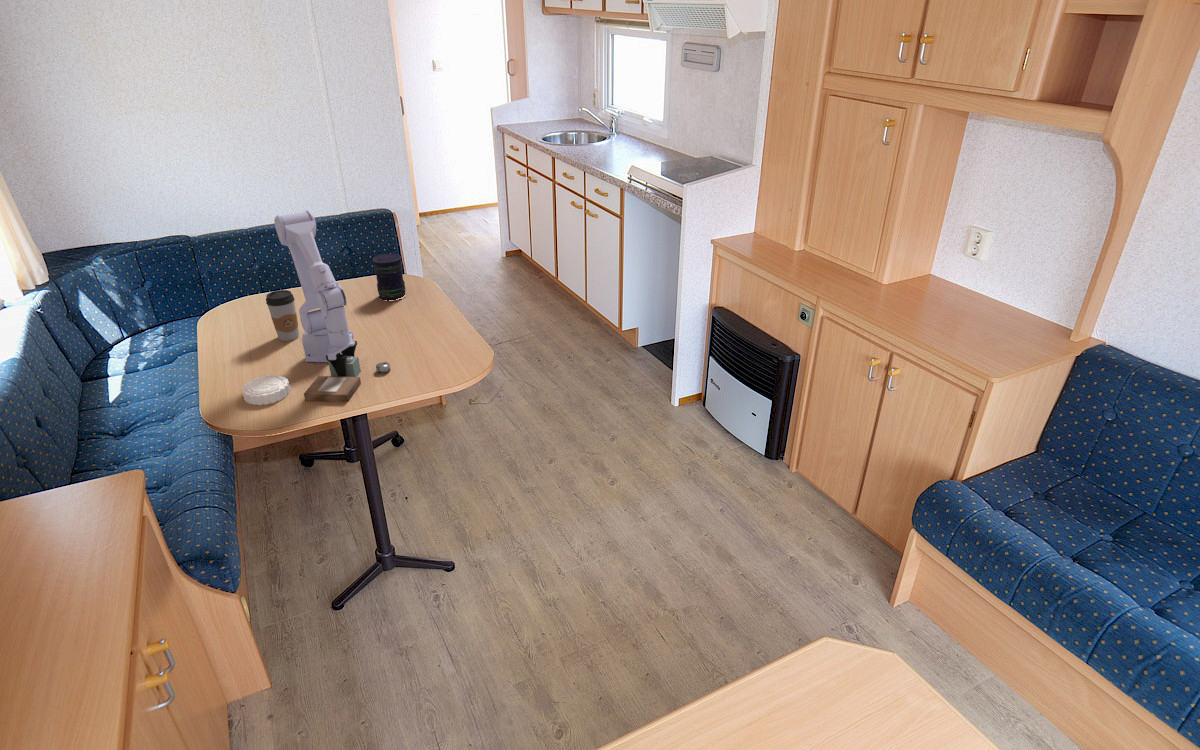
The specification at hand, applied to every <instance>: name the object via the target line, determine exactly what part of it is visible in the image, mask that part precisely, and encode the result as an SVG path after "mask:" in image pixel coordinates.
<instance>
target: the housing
mask: <svg viewBox="0 0 1200 750" xmlns="http://www.w3.org/2000/svg"><path fill="white" fill-rule="evenodd" d="M360 365H361V364H360V359H359V356H354V357H352V356H347V359H346V376H339V377H359V375H360V373H361V371H362V370H361V366H360ZM328 366H329V372H330V376H338V375H337V373H336V371H335V369H334V367H333V366H332V365H331V363H330V362H328Z"/></svg>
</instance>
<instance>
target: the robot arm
mask: <svg viewBox="0 0 1200 750" xmlns="http://www.w3.org/2000/svg"><path fill="white" fill-rule="evenodd" d="M273 222H274V228H275V230H276V234H277V237H278V240H279V242H280V244H281V246H286V247H288V249H289V252H290V255H291V258H292V261H293V264H294V268H295V270H296V273H297V277H298V280H299V282H300V286H301V289H302V292H303V296H304V298H305V302H303V304H302V305H301V306H300V307H299V309H298V313H299V318H300V320H299V321H300V324H301V326H302V329H303V333H302V338H301V339H302V340H301V342H302V347H303V352H304V356H305V360H304V361H305V362H306V363H331V365H332V366H333V367H334V369H335V371H336V373H337V375H338V376H346V359H347V356H352V357H355V354H356V353H355V352H356V348H357V345H358V341H357V340H353V339H354V338H355V337H354V331H350V329H349V324H348V319H347V314H346V309H345V306H347V304H348V303H347V297H346V294H345V291H344V289H343V288H342V286H341V285H340V284H339V282H336V279H335V277H334V274H333V273H332V271H331V268H330V266H329V265H328V264H327V263H325V262H323V260H322V257H321V254H320V251H319V249H318V246H317V243H316V240H315V237H316V234H317V221H316V219H315V216H314V214H313V213H312V212H311V211H310V210H305V211H301V212H294V213H289V214H283V215H276V216H275V218H274V221H273Z"/></svg>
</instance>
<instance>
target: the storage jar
mask: <svg viewBox="0 0 1200 750" xmlns="http://www.w3.org/2000/svg"><path fill="white" fill-rule="evenodd" d="M372 261H373V269H374V274H375V276H376V282H377V284H376V287H377V292H378V298H379V300H380V299H382V300H387V301H386V302H389V300H396V299H398V298H401V297H403V296H404V295H405V293H406V285H405V284H406V283H405V280H404V276H403V272H404V271H403V270H404V268H403V262H402V257H401V255H400V254H397V253H382V254H379V255H375V256H373V258H372ZM382 300H381V301H382Z"/></svg>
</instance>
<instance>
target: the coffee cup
mask: <svg viewBox="0 0 1200 750" xmlns="http://www.w3.org/2000/svg"><path fill="white" fill-rule="evenodd" d="M265 296H266V297H265V298H266V299H265V301H266V302H265V304H266V306H267V308H268V311H269V313H270V317H271V321H272V323H273V326H274V329H275V332H276V336H277V337H278V339H279V341H282V342H289V341H290V342H291V341H295V340H296V339H299V335H300V330H299V322H298V314H297V309H296V302H295V296H294V294H293V293H292V291H290V290H287V289H286V290H285V289H280V290H275V291H271V292H269V293H267V294H266V295H265Z"/></svg>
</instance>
